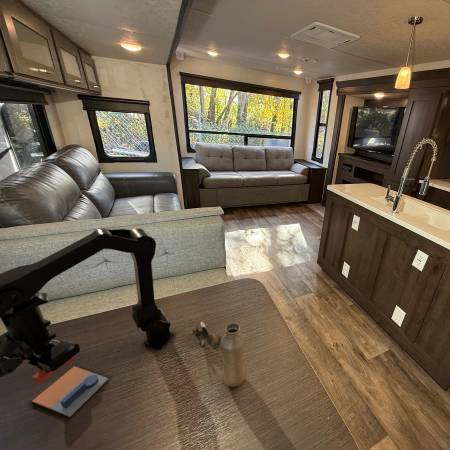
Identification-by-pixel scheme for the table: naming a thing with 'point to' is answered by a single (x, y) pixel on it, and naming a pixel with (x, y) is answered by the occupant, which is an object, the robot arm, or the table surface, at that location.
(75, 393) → the blue spoon
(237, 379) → the plastic bottle
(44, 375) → the terracotta spoon
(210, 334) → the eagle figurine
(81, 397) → the mat
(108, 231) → the robot arm
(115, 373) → the table surface
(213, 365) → the table surface
